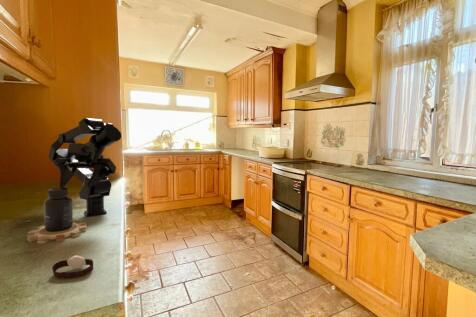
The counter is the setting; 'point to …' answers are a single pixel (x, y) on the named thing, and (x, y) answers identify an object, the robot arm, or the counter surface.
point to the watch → (74, 263)
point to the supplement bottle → (58, 210)
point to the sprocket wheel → (56, 233)
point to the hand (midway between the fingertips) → (74, 187)
